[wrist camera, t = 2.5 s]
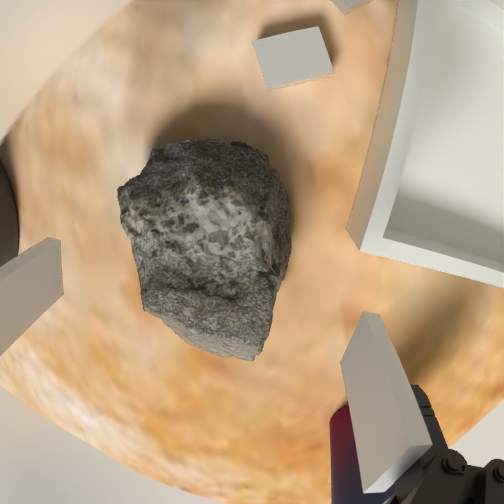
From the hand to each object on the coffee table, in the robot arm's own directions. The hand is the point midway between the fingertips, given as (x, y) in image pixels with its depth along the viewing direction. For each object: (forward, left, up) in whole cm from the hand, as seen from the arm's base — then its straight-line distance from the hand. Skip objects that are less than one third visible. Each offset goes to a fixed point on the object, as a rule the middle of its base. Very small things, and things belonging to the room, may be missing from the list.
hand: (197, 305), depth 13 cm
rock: (0, 0, -9) cm, 9 cm away
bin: (+16, +11, -8) cm, 21 cm away
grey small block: (+2, +11, -8) cm, 14 cm away
